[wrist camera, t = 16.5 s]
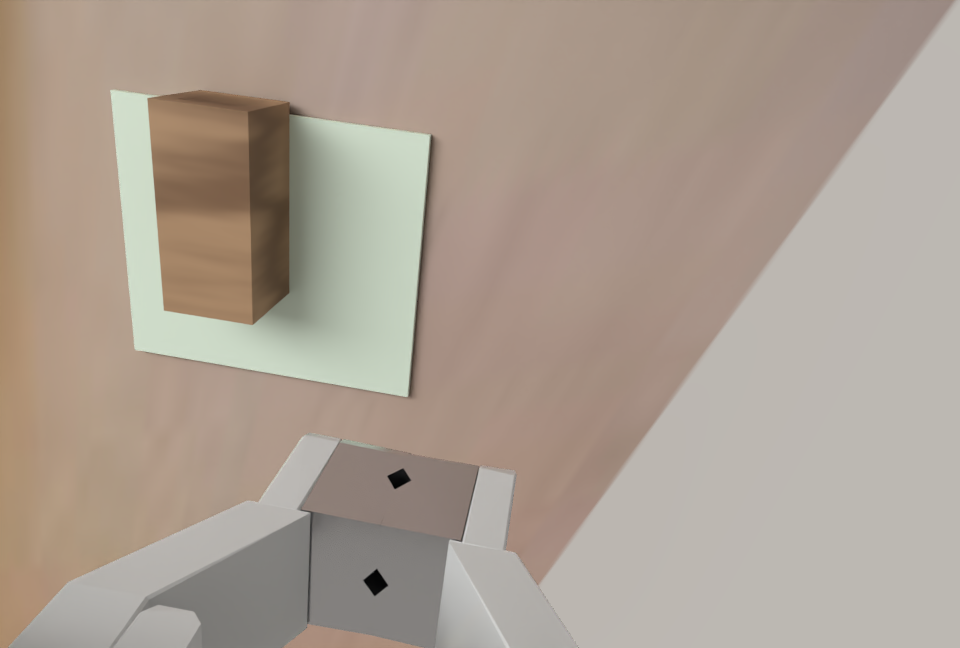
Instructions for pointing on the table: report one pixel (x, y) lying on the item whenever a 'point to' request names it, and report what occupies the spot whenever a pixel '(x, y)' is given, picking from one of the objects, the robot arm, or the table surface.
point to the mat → (301, 257)
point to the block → (221, 203)
